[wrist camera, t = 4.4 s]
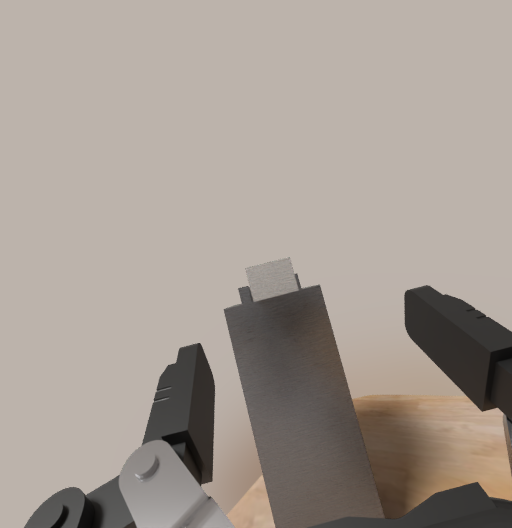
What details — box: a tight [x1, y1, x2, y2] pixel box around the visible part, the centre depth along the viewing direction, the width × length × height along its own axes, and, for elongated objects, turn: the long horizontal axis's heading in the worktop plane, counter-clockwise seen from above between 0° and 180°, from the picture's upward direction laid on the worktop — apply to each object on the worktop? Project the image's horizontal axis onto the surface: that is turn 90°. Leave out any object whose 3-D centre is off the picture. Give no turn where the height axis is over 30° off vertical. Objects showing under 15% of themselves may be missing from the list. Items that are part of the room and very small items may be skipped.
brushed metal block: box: [246, 257, 299, 302], centre depth 36 cm, size 22×4×3 cm, turn 179°
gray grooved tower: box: [224, 274, 385, 528], centre depth 40 cm, size 14×12×34 cm
